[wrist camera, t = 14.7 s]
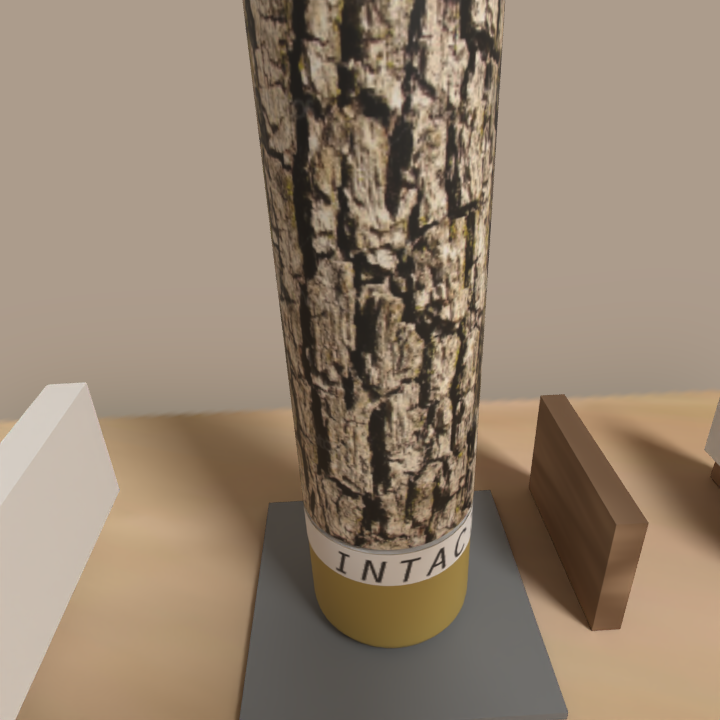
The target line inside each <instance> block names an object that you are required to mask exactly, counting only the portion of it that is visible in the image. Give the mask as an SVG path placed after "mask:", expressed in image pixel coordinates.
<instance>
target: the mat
mask: <svg viewBox="0 0 720 720" xmlns="http://www.w3.org/2000/svg"><path fill="white" fill-rule="evenodd" d="M567 716H568V710H567V708H566V705H565V702H564V699H563V696H562V693H561V690H560V688H559V685H558V682H557V679H556V676H555V673H554V670H553V668H552V665H551V662H550V659H549V656H548V653H547V651H546V648H545V645H544V642H543V639H542V636H541V633H540V631H539V628H538V625H537V622H536V619H535V616H534V613H533V611H532V608H531V605H530V602H529V599H528V596H527V594H526V591H525V588H524V585H523V582H522V579H521V576H520V574H519V571H518V568H517V565H516V562H515V559H514V557H513V554H512V551H511V548H510V545H509V542H508V539H507V537H506V534H505V531H504V528H503V525H502V522H501V519H500V517H499V514H498V511H497V508H496V505H495V502H494V500H493V497H492V494H491V491H490V490H484V491H474V495H473V512H472V528H471V535H470V550H469V565H468V581H467V591H466V596H465V599H464V603H463V605H462V608H461V610H460V612H459V613H458V615H457V616H456V618H455V619H454V620H453V622H452V623H451V624H450V625H449V626H448V627H447V628H445V629H444V630H443V631H442V632H440V633H439V634H437V635H436V636H434V637H432V638H430V639H428V640H426V641H424V642H422V643H419V644H416V645H412V646H408V647H402V648H381V647H375V646H370V645H367V644H364V643H361V642H359V641H356V640H354V639H352V638H350V637H348V636H347V635H345V634H343V633H342V632H341V631H339V630H338V629H337V628H336V627H334V626H333V625H332V624H331V623H330V621H329V620H328V619H327V618H326V616H325V615H324V613H323V612H322V610H321V608H320V606H319V603H318V601H317V598H316V594H315V589H314V580H313V572H312V564H311V555H310V547H309V539H308V535H307V527H306V519H305V511H304V502H303V501H294V502H276V503H269V508H268V515H267V522H266V529H265V537H264V544H263V551H262V558H261V566H260V573H259V580H258V588H257V595H256V602H255V609H254V617H253V624H252V631H251V639H250V646H249V653H248V660H247V668H246V675H245V682H244V689H243V697H242V704H241V711H240V719H239V720H561V719H567Z"/></svg>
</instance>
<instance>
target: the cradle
mask: <svg viewBox="0 0 720 720" xmlns="http://www.w3.org/2000/svg"><path fill="white" fill-rule="evenodd" d="M710 477H711V478H712V479H713V480H714V481H715V483H716V484H717V485H718V486H719V487H720V466H719V465H718V464H717V463H716V462H715V464H714V467H713V470H712V473H711V476H710ZM529 489H530V491H531V493H532V496H533V498H534V500H535V502H536V505H537V507H538V509H539V512H540V514H541V516H542V518H543V521H544V523H545V525H546V527H547V530H548V532H549V534H550V537H551V539H552V541H553V543H554V546H555V548H556V550H557V552H558V555H559V557H560V559H561V562H562V564H563V566H564V568H565V571H566V573H567V575H568V577H569V580H570V582H571V584H572V587H573V589H574V591H575V593H576V596H577V598H578V600H579V603H580V605H581V607H582V609H583V612H584V614H585V616H586V618H587V621H588V623H589V625H590V628H591V630H592V631H596V630H612V629H620V628H621V624H622V621H623V617H624V613H625V609H626V606H627V602H628V598H629V594H630V591H631V587H632V583H633V579H634V576H635V572H636V568H637V564H638V561H639V557H640V553H641V549H642V546H643V542H644V538H645V534H646V531H647V527H648V521H647V520H646V518H645V517H644V515H643V514H642V512H641V511H640V509H639V508H638V506H637V505H636V503H635V502H634V500H633V498H632V497H631V495H630V494H629V492H628V491H627V489H626V488H625V486H624V485H623V483H622V482H621V480H620V479H619V477H618V476H617V474H616V473H615V471H614V469H613V468H612V466H611V465H610V463H609V462H608V460H607V459H606V457H605V456H604V454H603V453H602V451H601V450H600V448H599V447H598V445H597V444H596V442H595V441H594V439H593V437H592V436H591V434H590V433H589V431H588V430H587V428H586V427H585V425H584V424H583V422H582V421H581V419H580V418H579V416H578V415H577V413H576V412H575V410H574V408H573V407H572V405H571V404H570V402H569V401H568V399H567V398H566V396H565V395H564V394H561V395H543V396H541V397H540V405H539V412H538V420H537V428H536V436H535V443H534V451H533V459H532V466H531V474H530V482H529Z"/></svg>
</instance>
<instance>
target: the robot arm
mask: <svg viewBox="0 0 720 720" xmlns="http://www.w3.org/2000/svg"><path fill="white" fill-rule="evenodd" d="M704 450H705V451H706V452H707V453H708V454H709V455H710V456H711V457H712V458H713V459H714V461H715V462H716V463H717V464H718V465H719V466H720V399H719V402H718V405H717V409H716V412H715V416H714V419H713V422H712V426H711V429H710V432H709V436H708V439H707V442H706V446H705V449H704ZM119 490H120V489H119V486H118V483H117V480H116V476H115V473H114V470H113V467H112V463H111V460H110V457H109V454H108V450H107V447H106V444H105V441H104V437H103V434H102V431H101V428H100V424H99V421H98V418H97V415H96V411H95V408H94V405H93V402H92V398H91V396H90V392H89V389H88V386H87V383H86V382H84V383H67V384H51V385H47V386H46V387H45V388H44V389H43V391H42V392H41V393H40V395H39V396H38V397H37V398H36V399H35V401H34V402H33V403H32V404H31V405H30V407H29V408H28V409H27V411H26V412H25V413H24V414H23V415H22V417H21V418H20V419H19V420H18V422H17V423H16V424H15V425H14V427H13V428H12V429H11V430H10V432H9V433H8V434H7V435H6V437H5V438H4V439H3V440H2V441H1V443H0V720H16V717H17V715H18V713H19V711H20V709H21V706H22V704H23V702H24V700H25V698H26V695H27V693H28V691H29V689H30V687H31V684H32V682H33V680H34V678H35V676H36V673H37V671H38V669H39V667H40V664H41V662H42V660H43V658H44V656H45V653H46V651H47V649H48V647H49V645H50V642H51V640H52V638H53V636H54V634H55V631H56V629H57V627H58V625H59V623H60V620H61V618H62V616H63V614H64V612H65V609H66V607H67V605H68V603H69V601H70V598H71V596H72V594H73V592H74V590H75V587H76V585H77V583H78V581H79V579H80V576H81V574H82V572H83V570H84V568H85V565H86V563H87V561H88V559H89V557H90V554H91V552H92V550H93V548H94V545H95V543H96V541H97V539H98V537H99V534H100V532H101V530H102V528H103V526H104V523H105V521H106V519H107V517H108V515H109V512H110V510H111V508H112V506H113V504H114V501H115V499H116V497H117V495H118V493H119Z"/></svg>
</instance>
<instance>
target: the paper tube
mask: <svg viewBox="0 0 720 720" xmlns="http://www.w3.org/2000/svg"><path fill="white" fill-rule="evenodd" d="M243 8H244V16H245V24H246V33H247V40H248V49H249V57H250V66H251V74H252V82H253V91H254V99H255V107H256V115H257V124H258V131H259V140H260V148H261V157H262V164H263V173H264V181H265V190H266V198H267V205H268V214H269V222H270V231H271V239H272V247H273V255H274V263H275V272H276V280H277V288H278V297H279V305H280V313H281V321H282V330H283V337H284V345H285V354H286V363H287V371H288V379H289V387H290V395H291V404H292V412H293V420H294V429H295V437H296V445H297V453H298V462H299V470H300V478H301V486H302V494H303V502H304V511H305V519H306V527H307V535H308V539H309V547H310V555H311V564H312V572H313V580H314V589H315V594H316V598H317V601H318V603H319V606H320V608H321V610H322V612H323V613H324V615H325V616H326V618H327V619H328V620H329V621H330V623H331V624H332V625H333V626H334V627H336V628H337V629H338V630H339V631H341V632H342V633H343V634H345V635H347V636H348V637H350V638H352V639H354V640H356V641H359V642H361V643H364V644H367V645H370V646H375V647H381V648H402V647H408V646H412V645H416V644H419V643H422V642H424V641H426V640H428V639H430V638H432V637H434V636H436V635H437V634H439V633H440V632H442V631H443V630H444V629H445V628H447V627H448V626H449V625H450V624H451V623H452V622H453V620H454V619H455V618H456V616H457V615H458V613H459V612H460V610H461V608H462V605H463V603H464V599H465V596H466V591H467V581H468V565H469V550H470V535H471V528H472V512H473V495H474V481H475V465H476V450H477V434H478V418H479V403H480V387H481V386H480V385H481V370H482V356H483V339H484V324H485V308H486V292H487V277H488V261H489V245H490V229H491V214H492V199H493V183H494V182H493V181H494V166H495V152H496V151H495V150H496V136H497V119H498V104H499V89H500V73H501V57H502V42H503V26H504V11H505V0H243Z"/></svg>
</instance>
